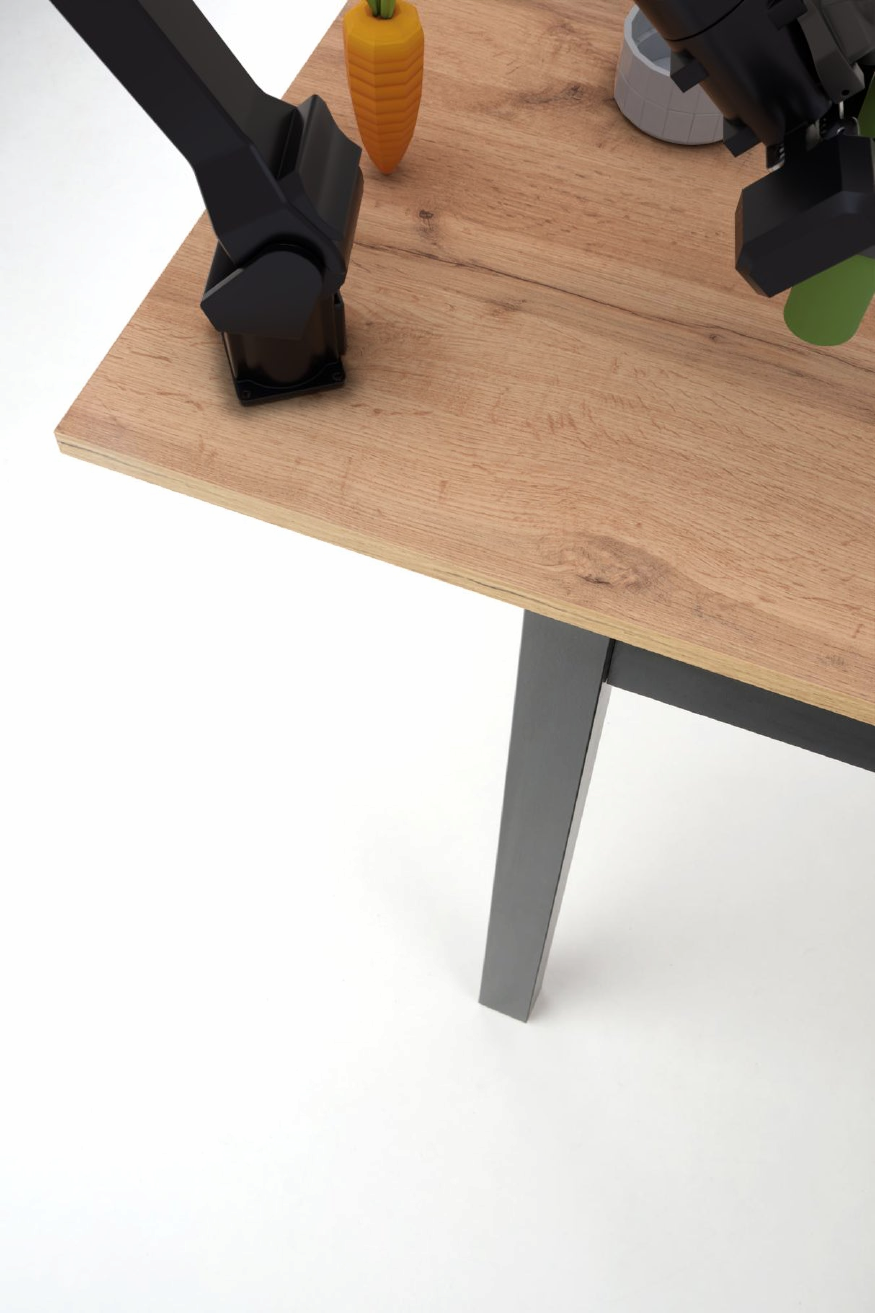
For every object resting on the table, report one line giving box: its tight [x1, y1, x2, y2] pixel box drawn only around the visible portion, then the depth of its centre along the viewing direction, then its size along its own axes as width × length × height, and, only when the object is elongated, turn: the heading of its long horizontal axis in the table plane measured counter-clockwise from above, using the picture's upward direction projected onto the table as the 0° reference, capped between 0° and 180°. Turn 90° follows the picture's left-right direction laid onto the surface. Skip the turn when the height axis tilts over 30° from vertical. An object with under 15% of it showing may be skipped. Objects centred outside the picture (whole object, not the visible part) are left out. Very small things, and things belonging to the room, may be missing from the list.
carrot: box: [341, 0, 425, 175], centre depth 71 cm, size 5×5×15 cm
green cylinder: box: [782, 74, 875, 347], centre depth 56 cm, size 4×4×14 cm
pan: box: [613, 4, 723, 146], centre depth 80 cm, size 10×10×5 cm
